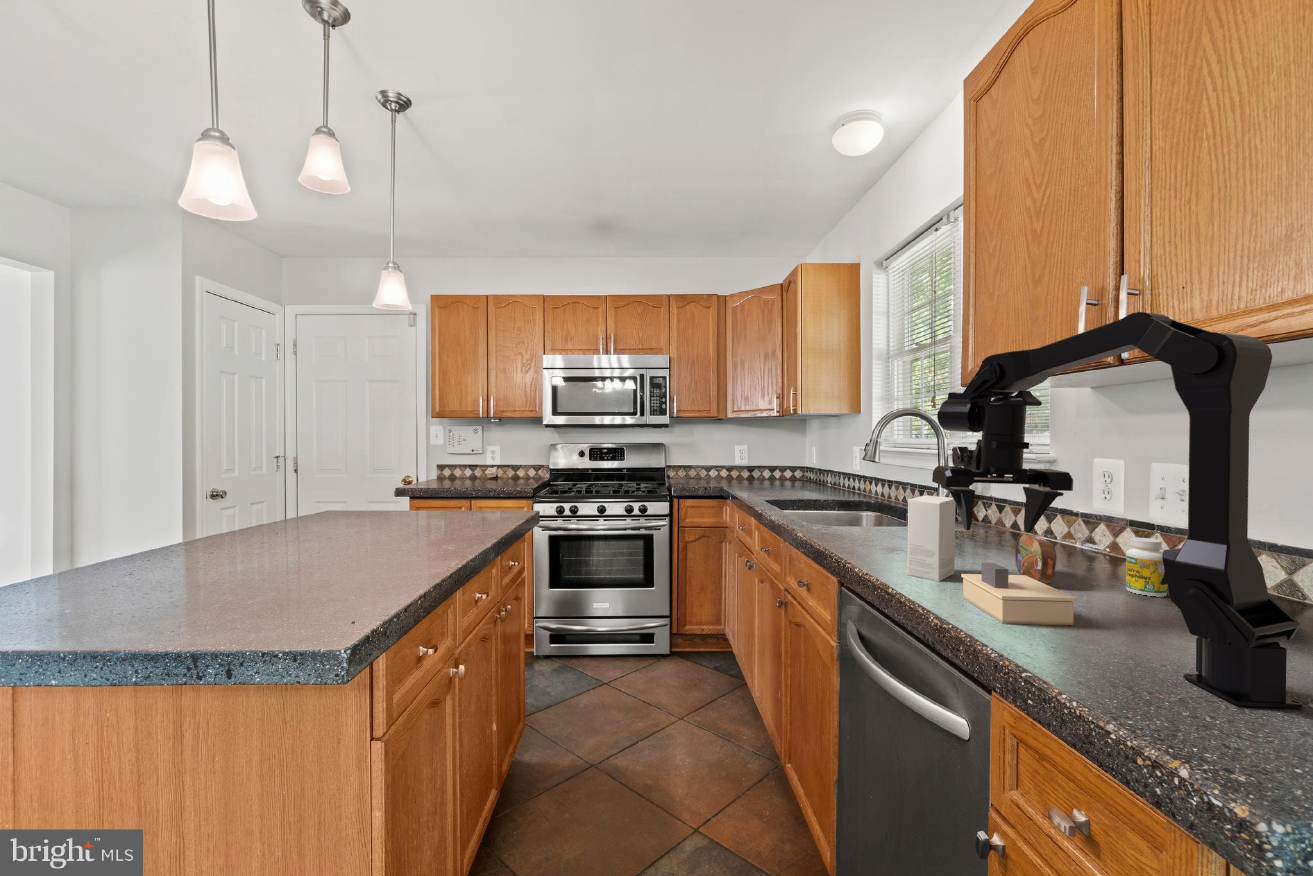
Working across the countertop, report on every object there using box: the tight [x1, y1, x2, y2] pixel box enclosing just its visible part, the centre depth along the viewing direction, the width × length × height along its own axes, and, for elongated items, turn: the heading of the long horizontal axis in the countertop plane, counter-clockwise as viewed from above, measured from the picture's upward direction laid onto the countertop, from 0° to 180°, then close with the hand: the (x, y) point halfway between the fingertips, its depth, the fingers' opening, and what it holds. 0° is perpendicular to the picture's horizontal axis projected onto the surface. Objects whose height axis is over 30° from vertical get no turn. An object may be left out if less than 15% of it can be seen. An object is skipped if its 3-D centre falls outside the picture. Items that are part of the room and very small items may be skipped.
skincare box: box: [906, 494, 956, 583], centre depth 106 cm, size 8×7×16 cm
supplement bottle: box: [1125, 537, 1168, 598], centre depth 94 cm, size 5×5×10 cm
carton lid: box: [960, 562, 1077, 602], centre depth 85 cm, size 12×10×4 cm
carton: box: [962, 577, 1075, 626], centre depth 85 cm, size 12×10×4 cm
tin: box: [1014, 532, 1057, 586], centre depth 103 cm, size 15×3×8 cm, turn 161°
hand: (996, 531), depth 85 cm, fingers open, 9 cm apart
